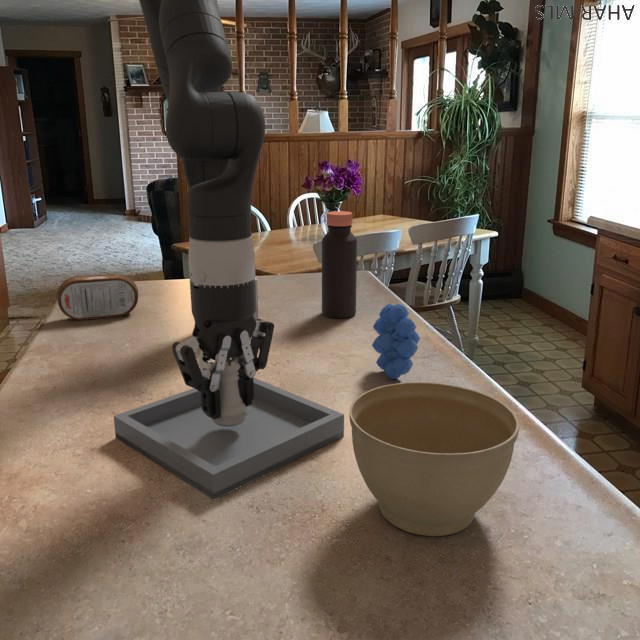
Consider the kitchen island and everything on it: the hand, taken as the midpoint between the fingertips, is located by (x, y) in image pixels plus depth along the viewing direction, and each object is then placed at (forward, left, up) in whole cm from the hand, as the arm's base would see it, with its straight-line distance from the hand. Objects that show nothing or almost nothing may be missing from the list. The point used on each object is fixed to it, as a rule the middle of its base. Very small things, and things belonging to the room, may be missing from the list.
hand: (228, 409), depth 83 cm
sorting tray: (0, 0, -4) cm, 4 cm away
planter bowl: (-4, +27, -4) cm, 28 cm away
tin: (-14, -58, -4) cm, 60 cm away
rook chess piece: (0, 0, -2) cm, 2 cm away
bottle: (-48, -26, -4) cm, 55 cm away
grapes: (-30, +3, -4) cm, 30 cm away
